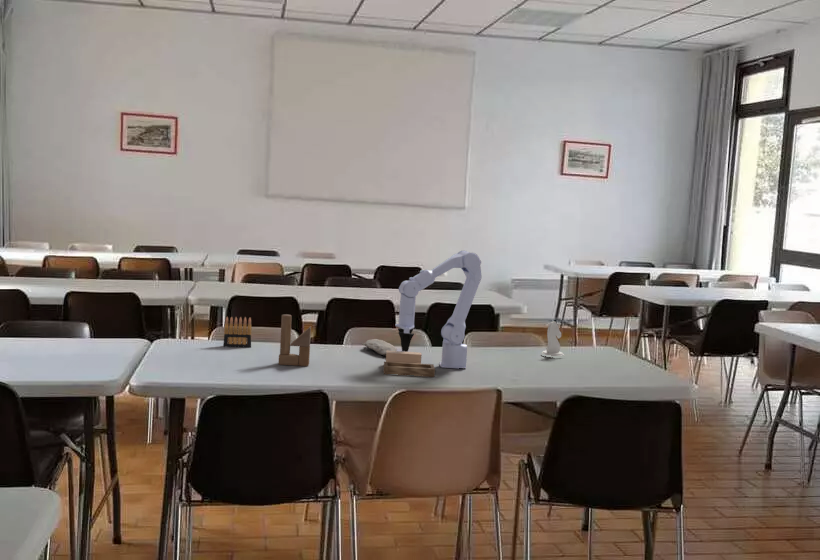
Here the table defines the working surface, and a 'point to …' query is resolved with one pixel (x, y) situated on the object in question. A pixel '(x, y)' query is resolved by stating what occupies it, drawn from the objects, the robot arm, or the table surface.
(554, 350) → the chess piece
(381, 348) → the stone tool
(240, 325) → the ammunition clip
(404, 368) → the wooden tray
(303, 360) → the tan wooden block stack
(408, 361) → the tan rectangular block
